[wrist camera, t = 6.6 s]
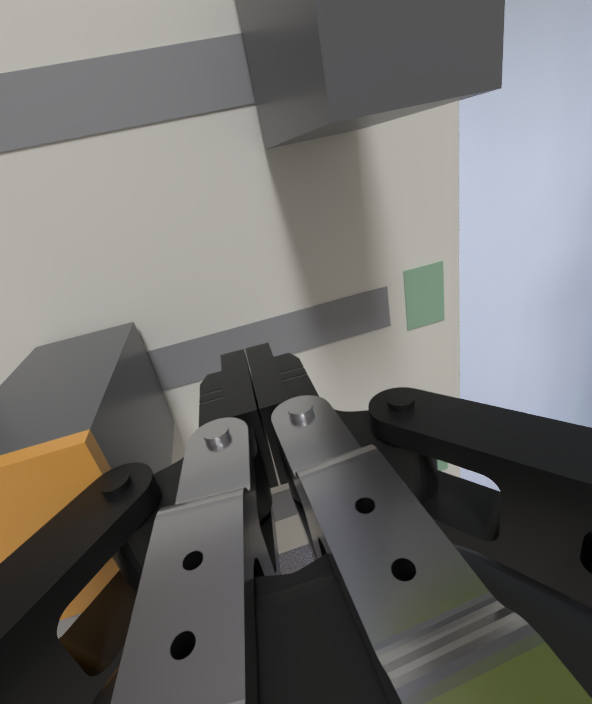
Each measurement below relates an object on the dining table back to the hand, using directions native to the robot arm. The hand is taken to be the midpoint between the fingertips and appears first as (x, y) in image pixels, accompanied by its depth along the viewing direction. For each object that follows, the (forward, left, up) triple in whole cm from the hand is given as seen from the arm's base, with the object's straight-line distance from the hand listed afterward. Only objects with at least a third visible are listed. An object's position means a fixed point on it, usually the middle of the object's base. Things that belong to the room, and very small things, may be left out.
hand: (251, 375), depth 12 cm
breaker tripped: (-5, 0, -2) cm, 5 cm away
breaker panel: (0, 0, -4) cm, 4 cm away
